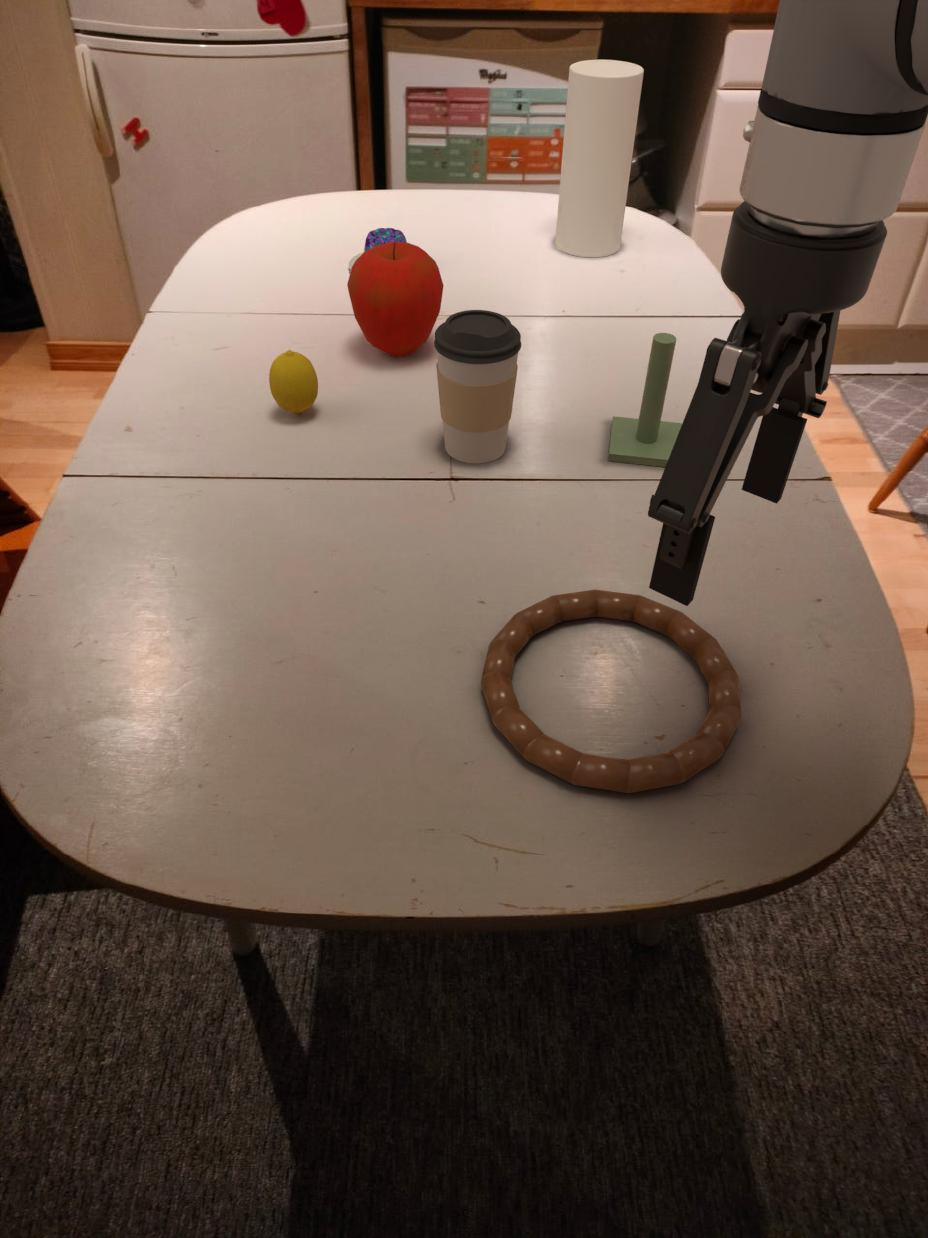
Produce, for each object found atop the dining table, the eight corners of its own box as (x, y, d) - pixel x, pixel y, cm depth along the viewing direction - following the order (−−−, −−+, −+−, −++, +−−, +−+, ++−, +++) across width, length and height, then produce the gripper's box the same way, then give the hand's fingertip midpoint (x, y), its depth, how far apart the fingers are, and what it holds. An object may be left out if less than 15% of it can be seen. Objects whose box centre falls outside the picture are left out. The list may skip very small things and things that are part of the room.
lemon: (322, 423, 99) (314, 360, 94) (274, 427, 99) (264, 364, 93) (320, 399, 103) (312, 337, 98) (274, 403, 103) (264, 341, 97)
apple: (368, 325, 118) (360, 219, 108) (452, 333, 116) (452, 227, 106) (341, 367, 109) (330, 256, 99) (431, 377, 107) (429, 265, 98)
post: (680, 430, 99) (703, 324, 90) (680, 468, 93) (705, 359, 84) (611, 423, 100) (627, 317, 91) (607, 460, 94) (624, 351, 85)
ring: (730, 621, 76) (736, 601, 74) (743, 817, 62) (751, 799, 60) (502, 591, 79) (503, 572, 77) (462, 774, 64) (462, 755, 62)
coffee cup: (449, 420, 100) (449, 295, 90) (523, 432, 98) (531, 307, 88) (425, 461, 94) (421, 332, 83) (503, 475, 92) (510, 345, 82)
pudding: (332, 271, 131) (329, 236, 127) (381, 247, 138) (379, 213, 134) (393, 290, 126) (392, 255, 122) (441, 264, 133) (440, 230, 129)
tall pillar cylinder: (602, 262, 134) (624, 79, 117) (543, 247, 138) (556, 69, 121) (630, 241, 141) (655, 65, 123) (573, 227, 145) (590, 55, 127)
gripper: (831, 139, 51) (746, 442, 66) (618, 267, 37) (571, 616, 52) (961, 164, 48) (840, 477, 63) (782, 316, 34) (681, 674, 48)
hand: (718, 541), depth 57 cm, fingers open, 13 cm apart
